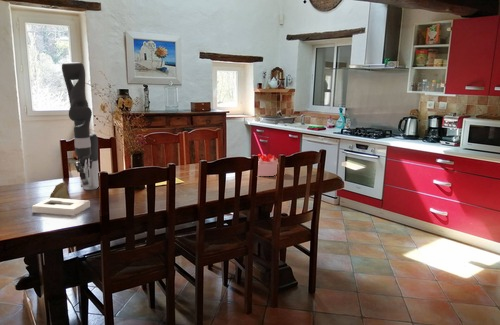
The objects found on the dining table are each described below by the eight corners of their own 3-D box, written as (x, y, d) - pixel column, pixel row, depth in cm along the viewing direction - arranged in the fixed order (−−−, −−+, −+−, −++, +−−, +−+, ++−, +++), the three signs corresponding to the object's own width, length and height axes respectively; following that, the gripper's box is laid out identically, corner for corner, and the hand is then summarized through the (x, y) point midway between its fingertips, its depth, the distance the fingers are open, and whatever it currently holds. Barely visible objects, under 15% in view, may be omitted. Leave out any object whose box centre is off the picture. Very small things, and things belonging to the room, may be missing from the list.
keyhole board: (51, 204, 200) (50, 197, 199) (90, 207, 197) (89, 200, 196) (32, 213, 186) (31, 206, 186) (73, 216, 183) (73, 209, 182)
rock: (46, 200, 199) (67, 196, 203) (45, 185, 202) (65, 181, 206) (51, 206, 209) (71, 202, 212) (49, 192, 212) (69, 188, 215)
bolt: (84, 184, 201) (82, 162, 198) (92, 185, 200) (91, 163, 198) (79, 187, 196) (77, 164, 194) (87, 187, 196) (85, 165, 193)
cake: (275, 178, 267) (276, 158, 264) (247, 176, 271) (248, 156, 268) (279, 172, 285) (280, 153, 282) (254, 170, 290) (254, 151, 287)
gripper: (83, 143, 201) (86, 174, 205) (67, 148, 187) (70, 181, 191) (97, 144, 200) (99, 175, 204) (81, 148, 186) (84, 182, 190)
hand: (85, 178), depth 197 cm, fingers closed on bolt, 3 cm apart
